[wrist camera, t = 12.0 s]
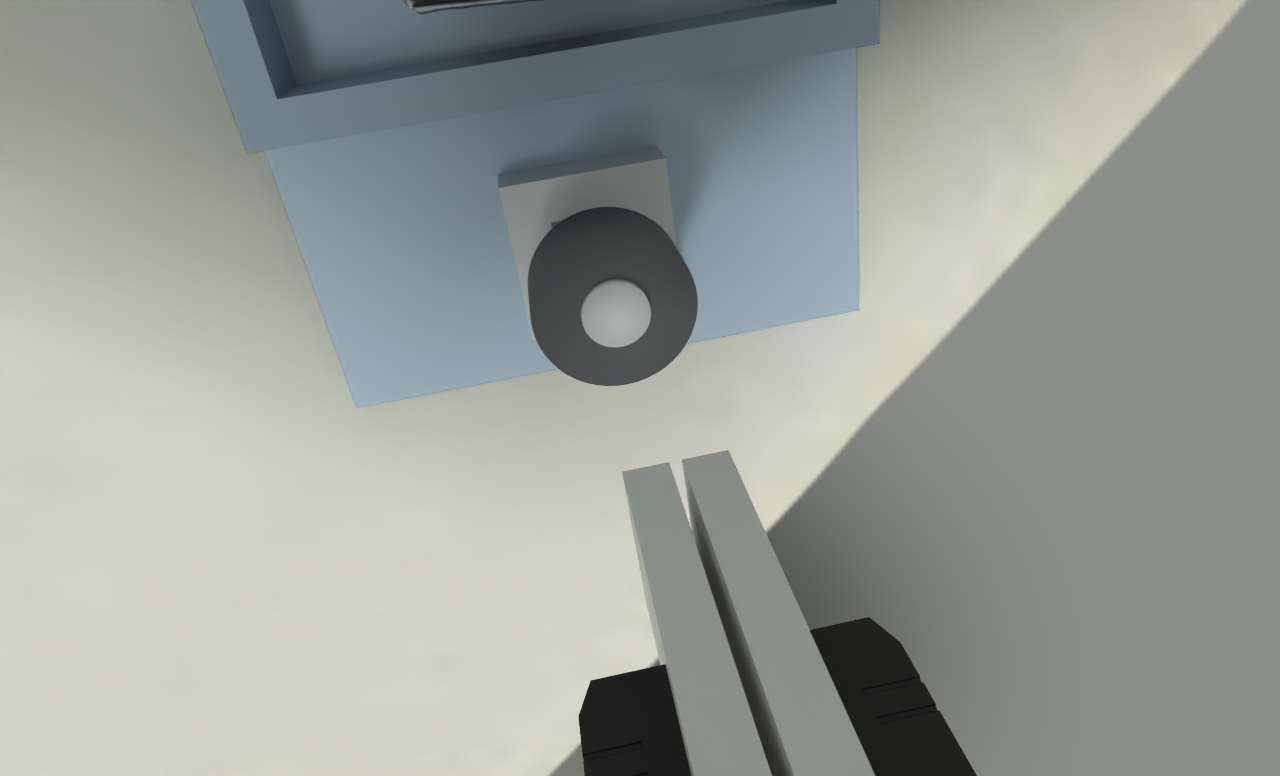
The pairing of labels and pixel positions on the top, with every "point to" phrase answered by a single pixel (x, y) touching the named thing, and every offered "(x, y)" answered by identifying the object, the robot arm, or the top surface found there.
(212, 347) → the top surface
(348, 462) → the top surface
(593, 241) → the dark grey knob
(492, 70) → the chassis
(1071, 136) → the top surface
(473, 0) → the small box
